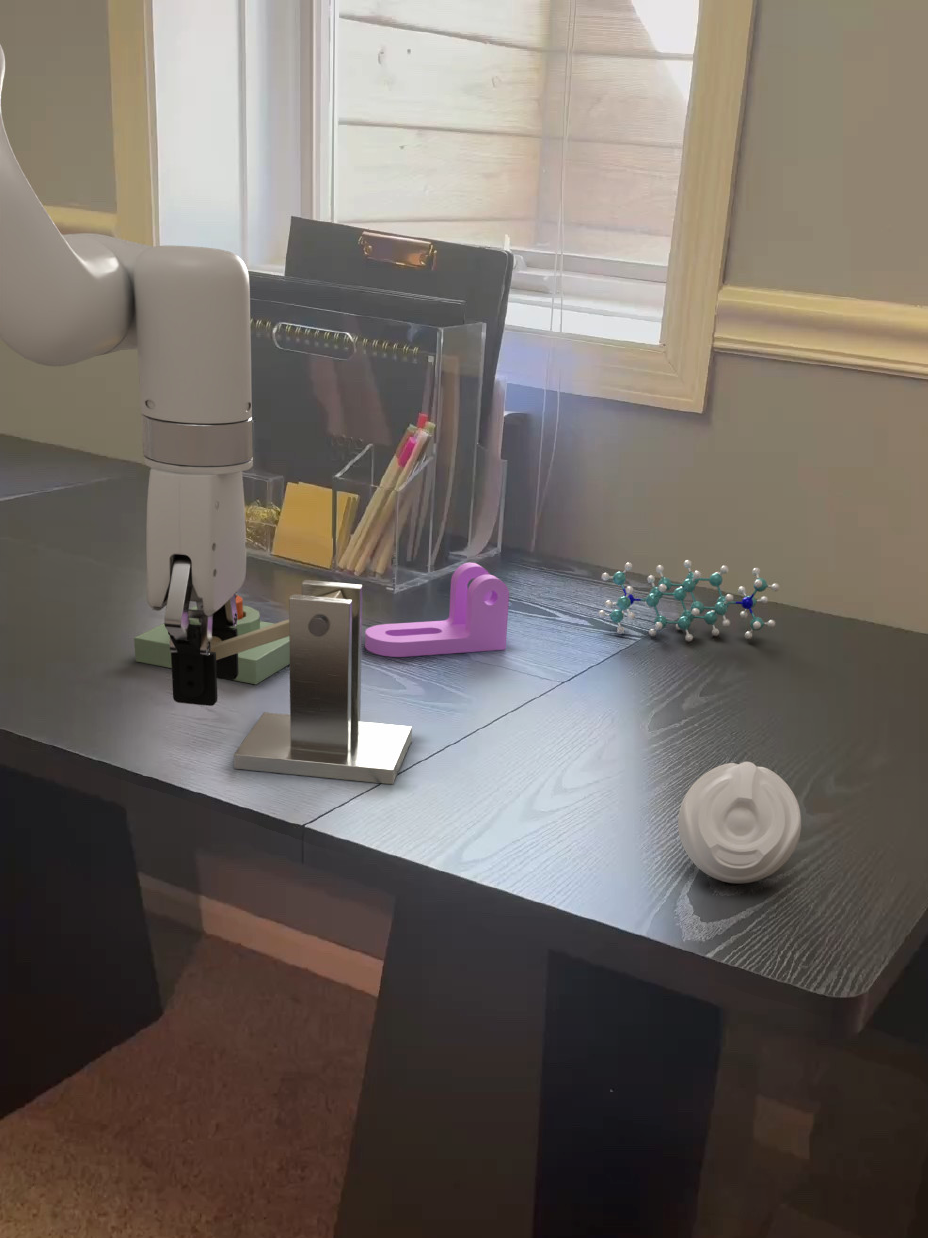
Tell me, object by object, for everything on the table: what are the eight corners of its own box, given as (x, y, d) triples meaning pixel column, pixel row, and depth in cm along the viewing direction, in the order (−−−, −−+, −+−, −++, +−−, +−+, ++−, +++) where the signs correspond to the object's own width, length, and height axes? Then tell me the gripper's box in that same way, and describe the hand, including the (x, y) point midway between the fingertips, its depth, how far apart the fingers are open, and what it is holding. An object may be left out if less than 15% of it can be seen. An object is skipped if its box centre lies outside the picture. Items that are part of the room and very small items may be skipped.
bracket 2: (483, 631, 136) (487, 561, 133) (505, 649, 132) (510, 577, 128) (357, 640, 131) (358, 567, 128) (376, 658, 127) (377, 584, 123)
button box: (135, 661, 122) (132, 617, 120) (194, 631, 130) (192, 589, 128) (256, 684, 119) (255, 640, 117) (308, 652, 127) (308, 610, 125)
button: (194, 620, 122) (193, 600, 121) (214, 609, 125) (214, 590, 124) (230, 626, 121) (229, 606, 120) (250, 615, 124) (249, 596, 123)
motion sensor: (667, 892, 90) (682, 784, 86) (675, 843, 96) (689, 740, 93) (791, 909, 89) (811, 800, 85) (789, 859, 95) (809, 755, 92)
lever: (194, 683, 102) (180, 653, 101) (213, 662, 106) (200, 633, 105) (343, 635, 99) (330, 603, 98) (356, 615, 103) (344, 585, 102)
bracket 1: (233, 769, 103) (228, 600, 97) (264, 725, 111) (260, 567, 104) (393, 784, 102) (397, 616, 96) (411, 740, 110) (417, 582, 104)
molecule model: (591, 620, 142) (598, 550, 138) (758, 626, 144) (769, 557, 140) (604, 646, 135) (611, 573, 131) (779, 651, 137) (791, 579, 133)
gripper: (182, 418, 104) (191, 650, 112) (102, 460, 89) (120, 725, 97) (280, 427, 103) (281, 659, 112) (216, 471, 88) (224, 735, 97)
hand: (206, 687), depth 105 cm, fingers closed on lever, 5 cm apart
